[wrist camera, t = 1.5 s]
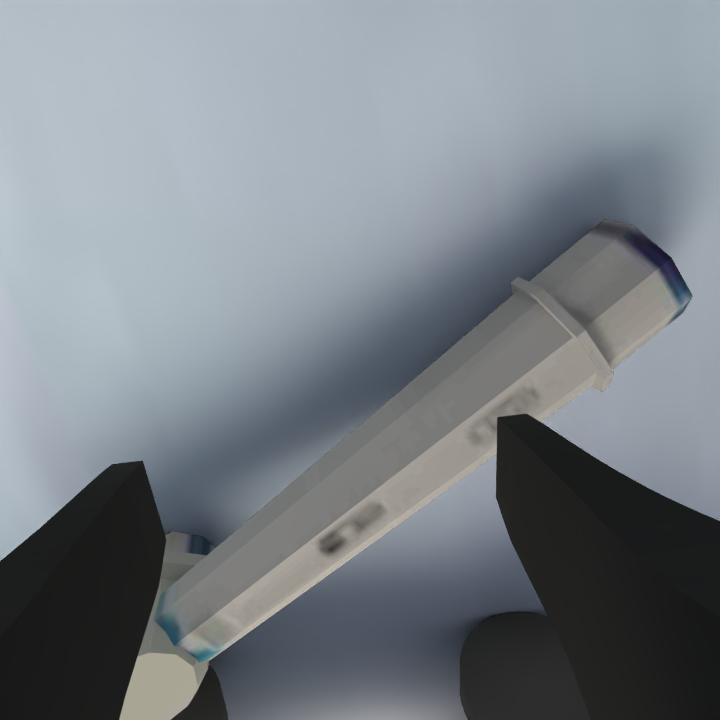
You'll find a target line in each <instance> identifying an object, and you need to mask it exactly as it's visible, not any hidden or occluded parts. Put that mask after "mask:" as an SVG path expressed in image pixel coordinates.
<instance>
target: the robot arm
mask: <svg viewBox="0 0 720 720" xmlns="http://www.w3.org/2000/svg"><path fill="white" fill-rule="evenodd" d="M496 498H497V501H498V504H499V507H500V511H501V514H502V517H503V520H504V523H505V525H506V528H507V531H508V534H509V537H510V540H511V542H512V544H513V546H514V548H515V550H516V552H517V554H518V556H519V558H520V560H521V562H522V564H523V567H524V569H525V571H526V573H527V575H528V577H529V579H530V581H531V583H532V585H533V587H534V589H535V591H536V593H537V595H538V597H539V599H540V601H541V603H542V605H543V607H544V609H545V611H546V613H547V615H548V617H549V619H550V621H551V623H552V625H553V627H554V629H555V631H556V633H557V635H558V637H559V639H560V642H561V644H562V646H563V648H564V651H565V653H566V655H567V657H568V660H569V663H570V665H571V668H572V670H573V673H574V676H575V678H576V681H577V684H578V686H579V689H580V692H581V694H582V697H583V700H584V702H585V705H586V707H587V710H588V713H589V716H590V719H591V720H720V521H718V520H716V519H713V518H711V517H709V516H706V515H704V514H701V513H699V512H697V511H695V510H693V509H690V508H688V507H686V506H684V505H682V504H680V503H677V502H675V501H673V500H671V499H669V498H667V497H664V496H662V495H660V494H658V493H657V492H655V491H653V490H651V489H649V488H647V487H645V486H643V485H641V484H640V483H638V482H636V481H634V480H632V479H630V478H629V477H627V476H625V475H623V474H621V473H620V472H618V471H616V470H615V469H613V468H611V467H609V466H608V465H606V464H604V463H603V462H601V461H600V460H598V459H596V458H595V457H593V456H592V455H590V454H588V453H587V452H585V451H584V450H582V449H580V448H579V447H577V446H576V445H574V444H573V443H571V442H570V441H568V440H567V439H565V438H564V437H562V436H561V435H559V434H558V433H556V432H555V431H553V430H552V429H550V428H549V427H547V426H546V425H544V424H543V423H541V422H540V421H538V420H536V419H535V418H533V417H532V416H530V415H528V414H527V413H526V414H518V415H510V416H502V417H497V469H496ZM165 545H166V537H165V534H164V530H163V527H162V524H161V520H160V517H159V514H158V510H157V507H156V504H155V500H154V497H153V494H152V490H151V487H150V484H149V480H148V477H147V474H146V470H145V467H144V464H143V461H136V462H128V463H119V464H112V465H111V466H109V467H108V468H107V469H106V470H104V471H103V472H102V473H101V474H100V475H98V476H97V477H96V478H95V479H94V480H93V481H92V482H91V483H89V484H88V485H87V486H86V487H85V488H84V489H83V490H82V491H81V492H80V493H78V494H77V495H76V496H75V497H74V498H73V499H72V500H71V501H70V502H69V503H67V504H66V505H65V506H64V507H63V508H62V509H61V510H60V511H59V512H57V513H56V514H55V515H54V516H53V517H52V518H51V519H50V520H49V521H47V522H46V523H45V524H44V525H43V526H42V527H41V528H40V529H38V530H37V531H36V532H35V533H34V534H33V535H31V536H30V537H29V538H28V539H26V540H25V541H24V542H23V543H22V544H20V545H19V546H18V547H17V548H16V549H14V550H13V551H12V552H11V553H10V554H8V555H7V556H6V557H5V558H4V559H2V560H1V561H0V720H119V719H120V715H121V711H122V707H123V704H124V700H125V696H126V692H127V689H128V686H129V683H130V679H131V676H132V673H133V670H134V667H135V663H136V660H137V657H138V654H139V650H140V647H141V644H142V641H143V637H144V634H145V631H146V628H147V624H148V621H149V618H150V614H151V611H152V608H153V604H154V601H155V598H156V594H157V591H158V587H159V582H160V577H161V571H162V565H163V559H164V552H165Z"/></svg>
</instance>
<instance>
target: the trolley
mask: <svg viewBox="0 0 720 720" xmlns="http://www.w3.org/2000/svg"><path fill="white" fill-rule="evenodd" d="M460 696H461V702H462V706H463V709H464V712H465V714H466V716H467V719H468V720H591V719H590V716H589V713H588V710H587V707H586V705H585V702H584V700H583V697H582V694H581V692H580V689H579V686H578V684H577V681H576V678H575V676H574V673H573V670H572V668H571V665H570V663H569V660H568V657H567V655H566V653H565V651H564V648H563V646H562V644H561V642H560V639H559V637H558V635H557V633H556V631H555V629H554V627H553V625H552V623H551V621H550V619H549V617H548V616H545V615H541V614H537V613H530V612H510V613H504V614H500V615H497V616H494V617H491V618H489V619H487V620H485V621H484V622H482V623H480V624H479V625H478V626H477V627H476V628H475V629H474V630H473V631H472V632H471V633H470V634H469V636H468V637H467V639H466V640H465V643H464V645H463V647H462V651H461V656H460ZM171 720H228V715H227V710H226V706H225V702H224V698H223V694H222V690H221V686H220V682H219V680H218V677H217V675H216V673H215V672H214V670H213V669H212V668H211V667H210V665H208V669H207V671H206V674H205V676H204V678H203V680H202V682H201V684H200V686H199V688H198V690H197V692H196V694H195V695H194V697H193V699H192V700H191V702H190V703H189V705H188V706H187V707H186V708H185V709H183V710H182V711H181V712H180V713H178V714H177V715H176V716H175V717H173V718H172V719H171Z"/></svg>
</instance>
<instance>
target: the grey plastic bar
mask: <svg viewBox="0 0 720 720" xmlns="http://www.w3.org/2000/svg"><path fill="white" fill-rule="evenodd" d="M510 285H511V290H512V296H511V297H510V298H509V299H507V300H506V301H505V302H504V303H503V304H502V305H500V306H499V307H498V308H497V309H496V310H494V311H493V312H492V313H491V314H490V315H489V316H487V317H486V318H485V319H484V320H483V321H482V322H480V323H479V324H478V325H477V326H476V327H475V328H473V329H472V330H471V331H470V332H469V333H467V334H466V335H465V336H464V337H463V338H462V339H460V340H459V341H458V342H457V343H456V344H455V345H453V346H452V347H451V348H450V349H449V350H448V351H446V352H445V353H444V354H443V355H442V356H440V357H439V358H438V359H437V360H436V361H435V362H433V363H432V364H431V365H430V366H429V367H428V368H426V369H425V370H424V371H423V372H422V373H421V374H419V375H418V376H417V377H416V378H415V379H413V380H412V381H411V382H410V383H409V384H408V385H406V386H405V387H404V388H403V389H402V390H401V391H399V392H398V393H397V394H396V395H395V396H394V397H392V398H391V399H390V400H389V401H388V402H386V403H385V404H384V405H383V406H382V407H381V408H379V409H378V410H377V411H376V412H375V413H374V414H372V415H371V416H370V417H369V418H368V419H367V420H365V421H364V422H363V423H362V424H361V425H359V426H358V427H357V428H356V429H355V430H354V431H352V432H351V433H350V434H349V435H348V436H347V437H345V438H344V439H343V440H342V441H341V442H340V443H338V444H337V445H336V446H335V447H334V448H332V449H331V450H330V451H329V452H328V453H327V454H325V455H324V456H323V457H322V458H321V459H320V460H318V461H317V462H316V463H315V464H314V465H313V466H311V467H310V468H309V469H308V470H307V471H305V472H304V473H303V474H302V475H301V476H300V477H298V478H297V479H296V480H295V481H294V482H293V483H291V484H290V485H289V486H288V487H287V488H286V489H284V490H283V491H282V492H281V493H280V494H278V495H277V496H276V497H275V498H274V499H273V500H271V501H270V502H269V503H268V504H267V505H266V506H264V507H263V508H262V509H261V510H260V511H259V512H257V513H256V514H255V515H254V516H253V517H251V518H250V519H249V520H248V521H247V522H246V523H244V524H243V525H242V526H241V527H240V528H239V529H237V530H236V531H235V532H234V533H233V534H232V535H230V536H229V537H228V538H227V539H226V540H224V541H223V542H222V543H221V544H220V545H219V546H217V547H216V548H215V547H214V546H213V545H212V544H211V543H209V542H208V541H207V540H206V539H205V538H203V537H202V536H196V535H191V534H185V533H180V532H174V531H171V532H170V533H169V534H166V535H165V537H166V545H165V552H164V559H163V565H162V571H161V577H160V582H159V587H158V591H157V594H156V598H155V601H154V604H153V608H152V611H151V614H150V618H149V621H148V624H147V628H146V631H145V634H144V637H143V641H142V644H141V647H140V650H139V654H138V657H137V660H136V663H135V667H134V670H133V673H132V676H131V679H130V683H129V686H128V689H127V692H126V696H125V700H124V704H123V707H122V711H121V715H120V719H119V720H171V719H172V718H173V717H175V716H176V715H177V714H178V713H180V712H181V711H182V710H183V709H185V708H186V707H187V706H188V705H189V703H190V702H191V700H192V699H193V697H194V695H195V694H196V692H197V690H198V688H199V686H200V684H201V682H202V680H203V678H204V676H205V674H206V671H207V669H208V665H209V661H210V660H211V659H213V658H214V657H215V656H217V655H218V654H220V653H221V652H222V651H224V650H225V649H227V648H228V647H229V646H231V645H232V644H233V643H235V642H236V641H238V640H239V639H240V638H242V637H243V636H245V635H246V634H247V633H249V632H250V631H251V630H253V629H254V628H256V627H257V626H258V625H260V624H261V623H263V622H264V621H265V620H267V619H268V618H270V617H271V616H272V615H274V614H275V613H276V612H278V611H279V610H281V609H282V608H283V607H285V606H286V605H288V604H289V603H290V602H292V601H293V600H295V599H296V598H297V597H299V596H300V595H301V594H303V593H304V592H306V591H307V590H308V589H310V588H311V587H313V586H314V585H315V584H317V583H318V582H320V581H321V580H322V579H324V578H325V577H326V576H328V575H329V574H331V573H332V572H333V571H335V570H336V569H338V568H339V567H340V566H342V565H343V564H344V563H346V562H347V561H349V560H350V559H351V558H353V557H354V556H356V555H357V554H358V553H360V552H361V551H363V550H364V549H365V548H367V547H368V546H369V545H371V544H372V543H374V542H375V541H376V540H378V539H379V538H381V537H382V536H383V535H385V534H386V533H388V532H389V531H390V530H392V529H393V528H394V527H396V526H397V525H399V524H400V523H401V522H403V521H404V520H406V519H407V518H408V517H410V516H411V515H413V514H414V513H415V512H417V511H418V510H419V509H421V508H422V507H424V506H425V505H426V504H428V503H429V502H431V501H432V500H433V499H435V498H436V497H437V496H439V495H440V494H442V493H443V492H444V491H446V490H447V489H449V488H450V487H451V486H453V485H454V484H456V483H457V482H458V481H460V480H461V479H462V478H464V477H465V476H467V475H468V474H469V473H471V472H472V471H474V470H475V469H476V468H478V467H479V466H481V465H482V464H483V463H485V462H486V461H487V460H489V459H490V458H492V457H493V456H494V455H496V454H497V417H502V416H510V415H518V414H526V413H527V414H528V415H530V416H532V417H533V418H535V419H536V420H538V421H540V422H542V421H543V420H544V419H546V418H547V417H549V416H550V415H551V414H553V413H554V412H555V411H557V410H558V409H560V408H561V407H562V406H564V405H565V404H567V403H568V402H569V401H571V400H572V399H574V398H575V397H576V396H578V395H579V394H580V393H582V392H583V391H585V390H586V389H587V388H589V387H590V386H593V387H595V388H596V389H598V390H599V391H600V392H602V391H603V390H604V389H606V388H607V387H608V386H609V385H610V382H611V379H612V376H613V373H614V372H613V371H612V369H613V368H614V367H616V366H617V365H618V364H619V363H621V362H622V361H623V360H624V359H626V358H627V357H628V356H629V355H631V354H632V353H633V352H635V351H636V350H637V349H638V348H640V347H641V346H642V345H643V344H645V343H646V342H647V341H648V340H650V339H651V338H652V337H653V336H655V335H656V334H657V333H658V332H660V331H661V330H662V329H663V328H665V327H666V326H667V325H668V324H670V323H671V322H672V321H673V320H675V319H676V318H677V317H678V316H680V315H681V314H682V313H683V312H684V310H685V309H686V307H687V305H688V304H689V302H690V300H691V298H692V297H693V296H692V294H691V292H690V290H689V288H688V287H687V285H686V283H685V281H684V279H683V278H682V276H681V274H680V272H679V270H678V269H677V267H676V265H675V263H674V261H673V260H672V258H671V257H670V256H669V255H668V254H666V253H665V252H664V251H663V250H662V249H661V248H659V247H658V246H657V245H656V244H655V243H654V242H652V241H651V240H650V239H649V238H648V237H647V236H645V235H644V234H643V233H642V232H641V231H640V230H638V229H637V228H636V227H635V226H634V225H631V224H626V223H621V222H616V221H611V220H606V219H604V220H603V221H602V222H601V223H600V224H598V225H597V226H596V227H595V228H593V229H592V230H591V231H590V232H589V233H587V234H586V235H585V236H584V237H583V238H581V239H580V240H579V241H578V242H576V243H575V244H574V245H573V246H572V247H570V248H569V249H568V250H567V251H565V252H564V253H563V254H562V255H561V256H559V257H558V258H557V259H556V260H555V261H553V262H552V263H551V264H550V265H548V266H547V267H546V268H545V269H544V270H542V271H541V272H540V273H539V274H537V275H536V276H535V277H534V278H533V279H531V280H530V281H527V280H524V279H522V278H520V277H517V278H516V279H514V280H513V281H512V282H511V283H510Z"/></svg>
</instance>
